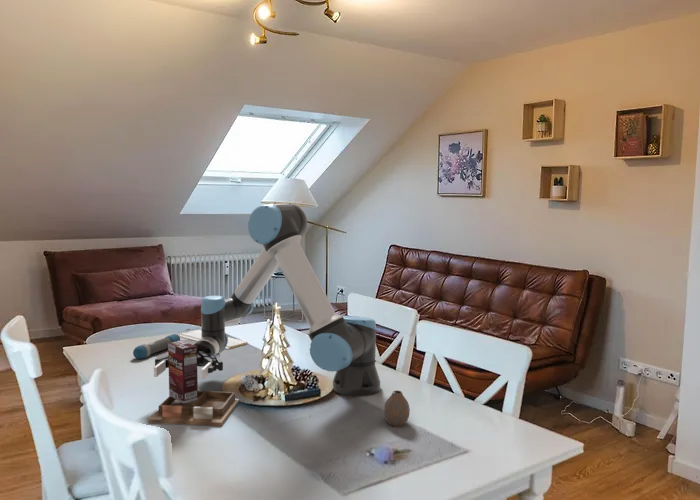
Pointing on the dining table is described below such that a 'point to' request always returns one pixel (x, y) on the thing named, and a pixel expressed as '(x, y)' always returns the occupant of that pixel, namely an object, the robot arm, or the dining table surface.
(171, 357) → the supplement box
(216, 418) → the organiser board
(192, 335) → the baseboard molding
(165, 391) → the dining table surface
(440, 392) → the dining table surface
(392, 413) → the vase
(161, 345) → the grey and blue cylinder
